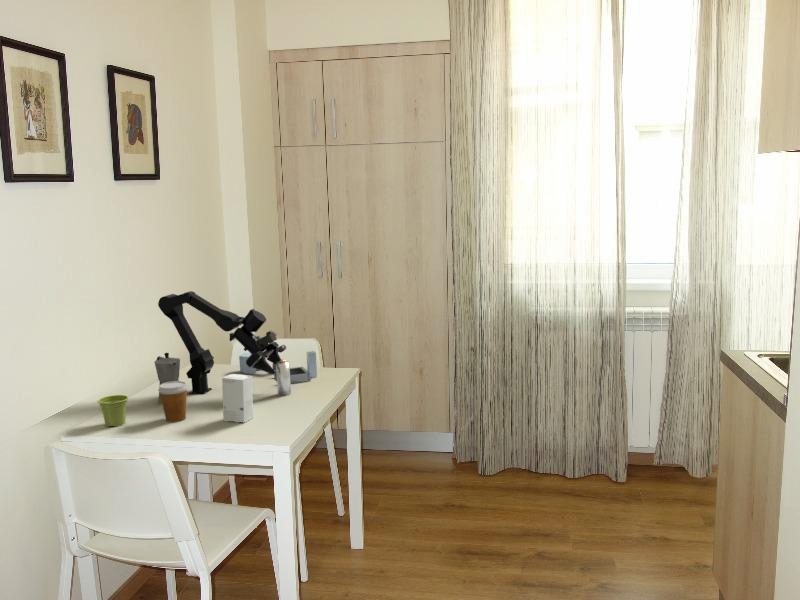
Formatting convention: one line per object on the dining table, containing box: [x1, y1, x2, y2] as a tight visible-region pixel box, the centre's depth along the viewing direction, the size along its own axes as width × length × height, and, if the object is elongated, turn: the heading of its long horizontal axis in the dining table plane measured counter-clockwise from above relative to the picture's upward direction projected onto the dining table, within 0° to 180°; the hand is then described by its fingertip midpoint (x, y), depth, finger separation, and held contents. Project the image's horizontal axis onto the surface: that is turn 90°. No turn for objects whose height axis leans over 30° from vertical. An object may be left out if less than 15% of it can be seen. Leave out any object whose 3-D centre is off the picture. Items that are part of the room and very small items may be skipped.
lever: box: [278, 344, 287, 353], centre depth 301 cm, size 4×14×2 cm, turn 77°
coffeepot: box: [154, 352, 181, 405], centre depth 266 cm, size 15×9×18 cm, turn 41°
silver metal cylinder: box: [276, 358, 292, 397], centre depth 268 cm, size 5×5×13 cm
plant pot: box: [97, 394, 129, 427], centre depth 241 cm, size 9×9×9 cm
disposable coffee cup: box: [157, 380, 189, 423], centre depth 244 cm, size 10×10×12 cm
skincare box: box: [222, 373, 254, 424], centre depth 240 cm, size 8×6×15 cm
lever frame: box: [238, 352, 276, 375], centre depth 303 cm, size 7×17×7 cm, turn 77°
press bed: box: [273, 350, 318, 384], centre depth 290 cm, size 16×12×10 cm
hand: (279, 370), depth 268 cm, fingers open, 9 cm apart
